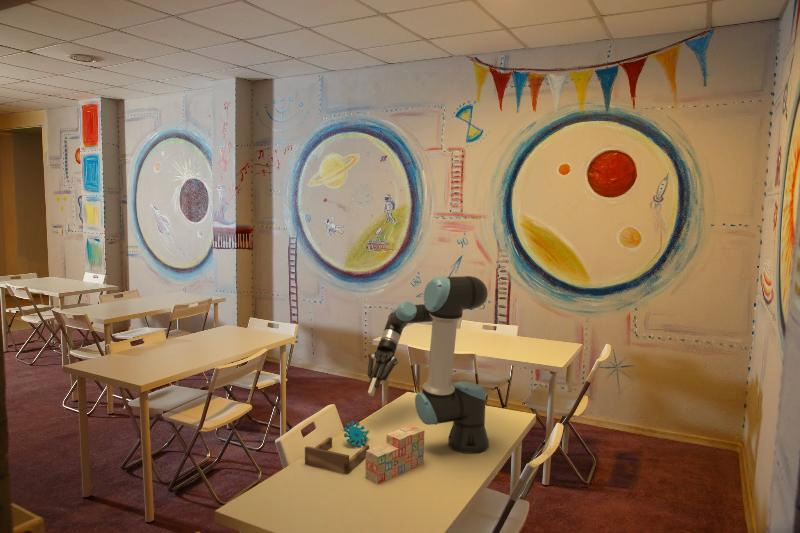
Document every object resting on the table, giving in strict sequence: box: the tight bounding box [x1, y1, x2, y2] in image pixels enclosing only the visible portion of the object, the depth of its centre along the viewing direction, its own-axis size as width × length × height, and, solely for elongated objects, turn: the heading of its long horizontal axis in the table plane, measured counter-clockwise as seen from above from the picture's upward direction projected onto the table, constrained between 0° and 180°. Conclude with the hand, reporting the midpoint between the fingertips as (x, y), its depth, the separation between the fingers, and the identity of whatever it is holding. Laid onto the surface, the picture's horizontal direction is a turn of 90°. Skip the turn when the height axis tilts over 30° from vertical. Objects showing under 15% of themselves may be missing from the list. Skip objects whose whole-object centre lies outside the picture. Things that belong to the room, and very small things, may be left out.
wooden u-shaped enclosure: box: [304, 436, 370, 475], centre depth 186 cm, size 16×16×6 cm
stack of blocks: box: [365, 424, 425, 485], centre depth 179 cm, size 21×6×12 cm, turn 134°
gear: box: [343, 420, 370, 448], centre depth 201 cm, size 11×6×10 cm
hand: (370, 394), depth 209 cm, fingers closed
